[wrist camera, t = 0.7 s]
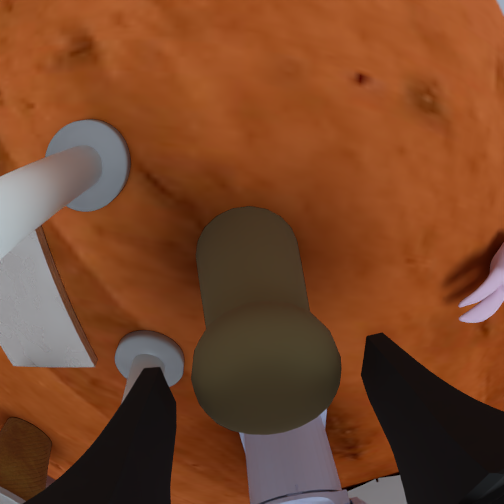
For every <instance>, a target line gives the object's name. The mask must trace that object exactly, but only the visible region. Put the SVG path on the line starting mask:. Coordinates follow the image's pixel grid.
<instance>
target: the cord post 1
mask: <svg viewBox="0 0 504 504" xmlns="http://www.w3.org/2000/svg"><path fill="white" fill-rule="evenodd" d="M130 165H131V163H130V153H129V149H128V146H127V143H126V141H125V140H124V138H123V136H122V135H121V134H120V132H119V131H118V130H117V129H116V128H114V127H113V126H112V125H110V124H108V123H106V122H104V121H101V120H95V119H88V120H81V121H76V122H73V123H70V124H68V125H66V126H65V127H63V128H62V129H61V130H59V131H58V132H57V134H56V135H55V136H54V137H53V139H52V140H51V142H50V144H49V146H48V149H47V152H46V156H45V158H43V159H40V160H38V161H35V162H33V163H30V164H28V165H25V166H23V167H21V168H18V169H16V170H14V171H12V172H9V173H7V174H5V175H3V176H0V260H1V259H2V258H3V257H4V256H5V255H6V254H7V253H9V252H10V251H11V250H12V249H13V248H14V247H15V246H17V245H18V244H19V243H20V242H21V241H22V240H23V239H25V238H26V237H27V236H28V235H29V234H31V233H32V232H33V231H34V230H35V229H37V228H38V227H39V226H40V225H42V224H43V223H44V222H45V221H47V220H48V219H49V218H50V217H52V216H53V215H54V214H55V213H57V212H58V211H59V210H61V209H62V208H63V207H65V206H67V207H69V208H71V209H74V210H77V211H94V210H98V209H100V208H102V207H104V206H106V205H107V204H108V203H110V202H111V201H112V200H113V199H114V198H115V197H116V196H117V195H118V194H119V193H120V192H121V191H122V189H123V188H124V186H125V184H126V182H127V179H128V177H129V173H130Z"/></svg>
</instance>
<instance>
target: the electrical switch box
mask: <svg viewBox="0 0 504 504" xmlns="http://www.w3.org/2000/svg"><path fill="white" fill-rule="evenodd" d="M347 493H348V497H349V498H353V497H358V498H359V499H360V500H362V501H365V502H366V503H367V504H407V502H406V497H405V492H404V488H403V485H402V481H401V477H400V475H397V476H391V477H383V478H378V482H376V479H374V480H372V481H370V482H368V483H366V484H364V485H361V486H359V487H357V488H354V489H352V490H350V491H347Z"/></svg>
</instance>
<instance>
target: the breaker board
mask: <svg viewBox="0 0 504 504" xmlns="http://www.w3.org/2000/svg"><path fill="white" fill-rule="evenodd" d="M0 345H1V347H2V348H3V350H4V352H5V353H6V355H7V357H8V358H9V360H10V361H11V363H12V364H13V366H27V367H95V365H96V363H97V358H96V356H95V354H94V352H93V350H92V348H91V346H90V344H89V342H88V340H87V338H86V336H85V334H84V332H83V330H82V328H81V326H80V324H79V321H78V319H77V317H76V315H75V313H74V310H73V308H72V306H71V304H70V301H69V299H68V297H67V294H66V292H65V290H64V287H63V285H62V282H61V280H60V277H59V275H58V272H57V269H56V267H55V264H54V261H53V259H52V256H51V253H50V250H49V248H48V245H47V242H46V239H45V236H44V233H43V230H42V226H41V225H40V226H39V227H38V228H37V229H35V230H34V231H33V232H32V233H31V234H29V235H28V236H27V237H26V238H25V239H23V240H22V241H21V242H20V243H19V244H18V245H17V246H15V247H14V248H13V249H12V250H11V251H10V252H9V253H7V254H6V255H5V256H4V257H3V258H2V259H1V260H0Z"/></svg>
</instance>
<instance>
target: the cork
mask: <svg viewBox="0 0 504 504" xmlns="http://www.w3.org/2000/svg"><path fill="white" fill-rule="evenodd" d="M196 262H197V269H198V277H199V284H200V291H201V298H202V304H203V311H204V318H205V324H206V330H205V332H204V334H203V335H202V337H201V339H200V340H199V342H198V344H197V346H196V348H195V350H194V357H193V366H192V376H191V380H192V384H193V388H194V391H195V394H196V397H197V399H198V402H199V404H200V406H201V407H202V408H203V409H204V411H205V412H206V413H207V414H208V415H209V416H210V417H211V418H212V419H213V420H214V421H215V422H216V423H217V424H219V425H221V426H223V427H225V428H227V429H229V430H231V431H236V432H240V433H245V434H251V435H270V434H277V433H283V432H287V431H290V430H293V429H296V428H299V427H301V426H303V425H305V424H307V423H308V422H310V421H312V420H314V419H315V418H317V417H318V416H319V415H320V414H321V413H323V412H324V411H325V410H326V409H327V408H328V407H329V405H330V404H331V402H332V400H333V398H334V397H335V395H336V393H337V390H338V387H339V384H340V378H341V357H340V354H339V352H338V349H337V347H336V344H335V342H334V340H333V337H332V335H331V333H330V331H329V330H328V329H327V328H326V327H325V326H324V325H323V324H322V323H321V322H320V321H319V320H318V319H317V318H316V317H315V316H314V315H313V314H312V313H311V312H310V310H309V304H308V298H307V292H306V286H305V281H304V275H303V270H302V264H301V259H300V254H299V248H298V243H297V240H296V237H295V235H294V233H293V231H292V228H291V227H290V226H289V225H288V224H287V223H286V222H285V221H284V220H283V219H282V217H281V216H279V215H277V214H275V213H273V212H271V211H269V210H267V209H263V208H257V207H251V206H247V207H240V208H233V209H230V210H228V211H226V212H224V213H222V214H220V215H218V216H216V217H215V218H214V219H213V220H212V221H211V222H210V223H209V224H208V225H207V226H206V227H205V228H204V230H203V232H202V234H201V236H200V238H199V240H198V243H197V250H196Z"/></svg>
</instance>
